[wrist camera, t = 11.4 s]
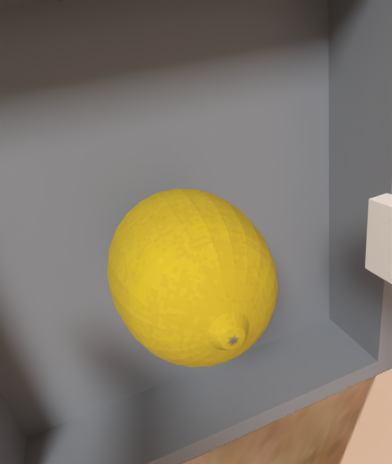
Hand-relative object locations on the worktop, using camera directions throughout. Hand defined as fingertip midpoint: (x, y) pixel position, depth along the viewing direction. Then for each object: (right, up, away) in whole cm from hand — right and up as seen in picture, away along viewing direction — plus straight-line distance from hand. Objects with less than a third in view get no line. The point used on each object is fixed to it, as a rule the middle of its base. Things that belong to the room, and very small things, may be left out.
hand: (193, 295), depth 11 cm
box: (-2, +2, +6) cm, 6 cm away
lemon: (-1, +2, +6) cm, 6 cm away
